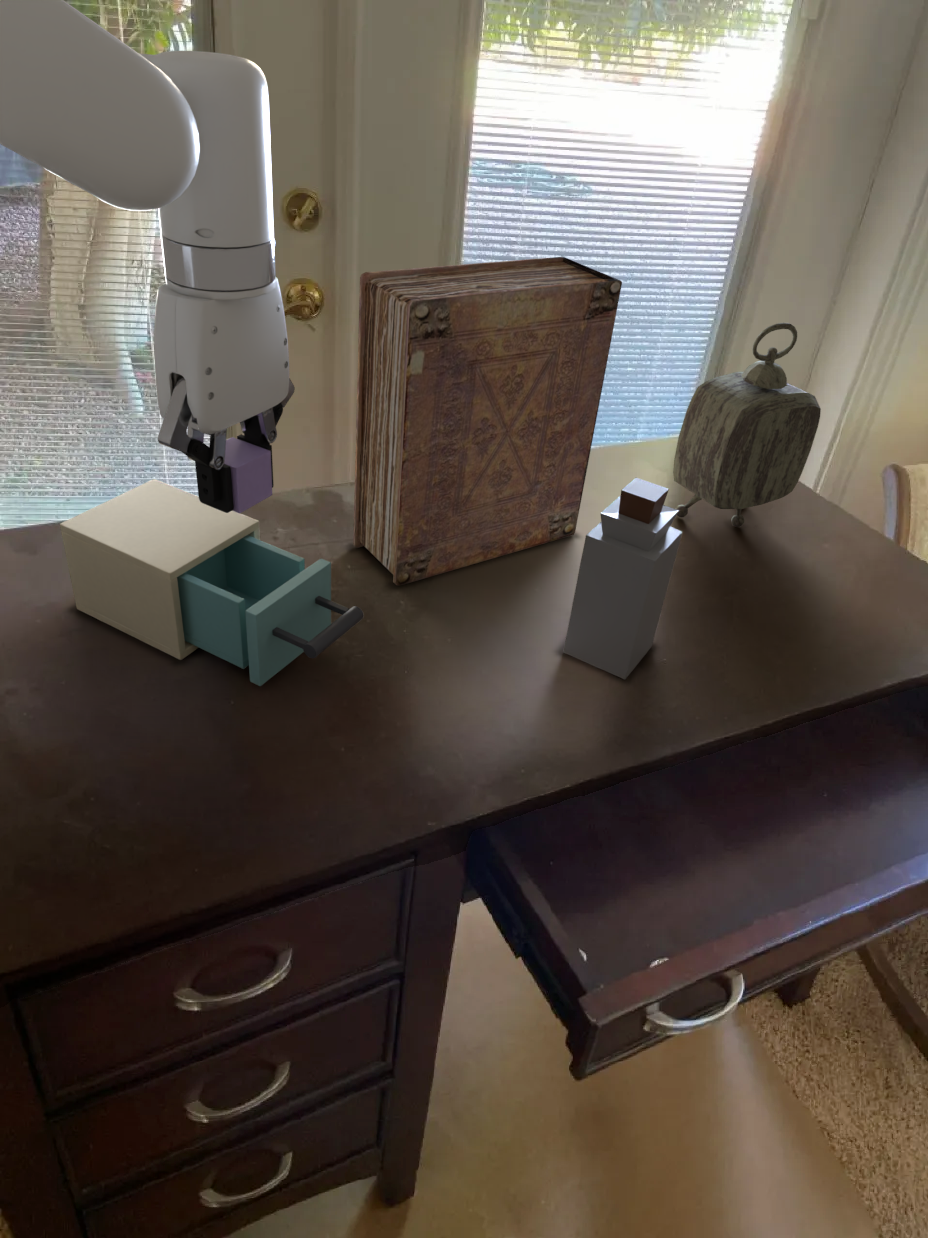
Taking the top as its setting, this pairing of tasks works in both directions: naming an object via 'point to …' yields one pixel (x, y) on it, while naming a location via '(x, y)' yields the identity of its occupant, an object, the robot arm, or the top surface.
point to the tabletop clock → (746, 435)
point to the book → (476, 408)
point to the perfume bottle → (623, 580)
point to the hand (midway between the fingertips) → (236, 493)
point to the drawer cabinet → (145, 558)
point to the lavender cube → (248, 473)
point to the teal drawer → (261, 607)
